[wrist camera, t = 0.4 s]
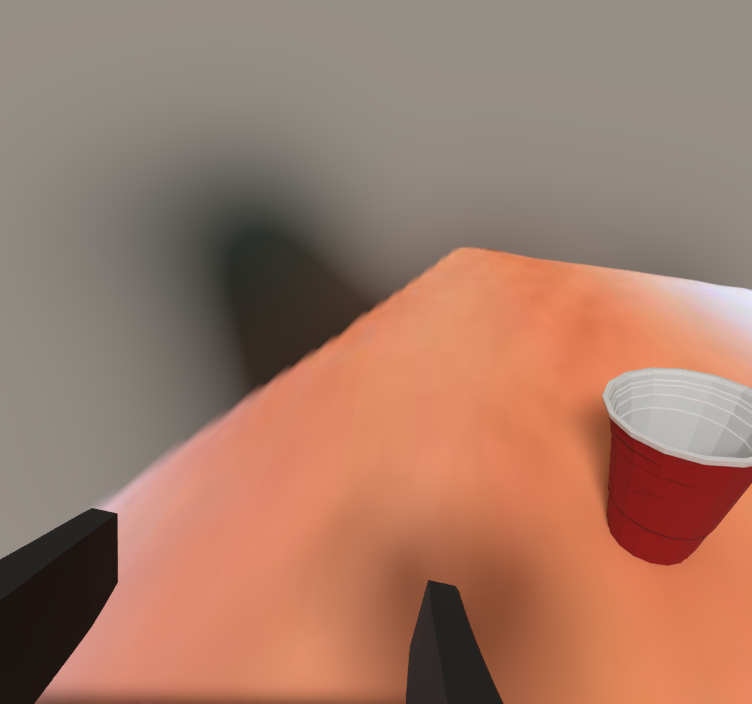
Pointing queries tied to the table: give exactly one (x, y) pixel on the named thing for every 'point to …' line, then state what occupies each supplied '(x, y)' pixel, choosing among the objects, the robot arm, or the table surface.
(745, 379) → the table surface
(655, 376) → the plastic cup
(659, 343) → the table surface
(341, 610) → the table surface
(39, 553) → the robot arm
